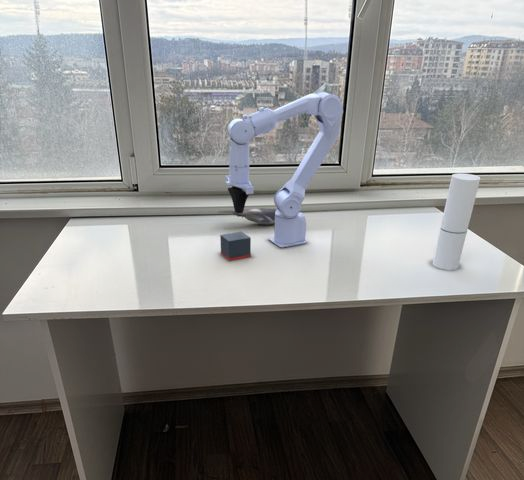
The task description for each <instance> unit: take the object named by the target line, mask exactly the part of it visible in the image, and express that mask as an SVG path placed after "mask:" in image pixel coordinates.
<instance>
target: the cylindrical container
mask: <svg viewBox="0 0 524 480" xmlns="http://www.w3.org/2000/svg"><path fill="white" fill-rule="evenodd" d="M449 182H450V183H449V187H448V192H447V195H446V202H445V204H444V205H445V206H444V210H443V214H442V218H441V223H440V228H439V233H438V238H437V240H436V241H437V242H436V246H435V251H434V254H433V260H432V265H433V266H434V267H435V268H438V269H440V270H445V271H452V270H453V271H455V270H457V269H458V268H459V265H460V262H461V257H462V253H463V249H464V246H465V242H466V237H467V233H468V230H469V225H470V221H471V217H472V214H473V209H474V206H475V202H476V197H477V192H478V191H479V185H480V182H481V177H480V175H479V176H478V175H476V174H471V173H461V172H460V173H453V174H452V175H451V178H450V181H449Z"/></svg>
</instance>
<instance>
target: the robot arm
mask: <svg viewBox="0 0 524 480" xmlns="http://www.w3.org/2000/svg"><path fill="white" fill-rule="evenodd" d="M343 113H344V109H343V105H342V102H341V99H340V97H338V96H337V95H336V94H332V93H329V92H326V91H325V90H319V91H316V92H315V93H308V94H307V95H304V96H302V97H300V98H297V99H295V100H293V101H291V102H289V103H287V104H284V105H283V106H280V107H278V108H276V109H274V110H273V109H271V108H269V107H263V106H260V107H259V108H258V111H255V112H253V113H250V114H248V115H247V114H243V115H242V118H234V119H232V120H231V121H230V122H229V124H228V126H227V128H226V131H227V135H228V137H229V147H228V158H229V159H228V160H229V161H228V162H229V163H228V167H229V168H228V171H229V173H228V175H225V185H227V186H231V187H227V191H228V193H229V195H230V197H231V200H232V205H233V211H235V212H236V213H243V210H245V207H246V203H247V200H248V197H249V196H250V195H254V190H255V189H254V186H252V184H251V181H250V141H251V139H252V138H255V137H258V136H261V135H263V134H266V133H268V132H270V131H274V130H275V129H276V127H277V125H278V123H280V122H283V121H287V120H288V119H292V118H294V117H297V116H300V115H303V114H308V115H311V116H314V117H315V119H316V122H317V126H318V133H317V134H316V136H315V138H314V139H313V141H312V143H311V145H310V147H309V148H308V150H307V151H306V153H305V155H304V157H303V158H302V160H301V162H300V164H299V165H298V167H297V168H296V170H295V172H294V173H293V175H292V177H291V179H289V180H288V181H287V182H285V183H284V185H283V186H282V187H281V188H280V189H278V190H277V192H275V194H274V196H273V203H274V205H275V206H276V209H277V210H276V212H275V223H274V237H269V238H268V240H269V241H270V242H272V243H273V244H275V245H276V246H277V247H279V248H282V249H283V248H288V247H294V246H298V245H305V244H307V241H306V235H307V234H306V233H307V219H306V216H305V215H304V214H303V212H301V209H302V203H303V201H304V200H305V197H306V196H305V194H306V189H307V187H309V184H310V183H311V181H312V180H313V178H314V176H315V174H316V172H317V171H318V170H319V168H320V166H322V163H323V161H324V160H325V159H326V157H327V155H328V153H329V152H330V150H331V149H332V148H333V145H334V144H335V142H336V141H337V139H338V137H339V135H340V129H341V120H342V117H343Z"/></svg>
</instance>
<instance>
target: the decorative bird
mask: <svg viewBox="0 0 524 480" xmlns="http://www.w3.org/2000/svg"><path fill="white" fill-rule="evenodd" d="M276 210H277V208H264V207H262V208H247V209H244V210H243V213H236V212H235V210H219V211H218V212H217V213H219V214H233V215H234V216H237V217H238V218H242V219H243V218H244V219H246V220H248V221H250V222H253V223H256V224H259V225H273V224H274V225H275V212H276Z"/></svg>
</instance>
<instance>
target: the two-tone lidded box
mask: <svg viewBox="0 0 524 480" xmlns="http://www.w3.org/2000/svg"><path fill="white" fill-rule="evenodd" d="M219 237H220V254H221V256H222V257H224V258H225V259H226V260H227V261H228V262H232V261H238V260H243V259H247V258H251V255H252V253H251V251H252V247H251V245H252V244H251V243H252V241H251V240H252V239H251V237H250V236H249V235H248V234H246V233H245V232H244V231H243V230H241V231H240V230H239V231H236V232H230V233H229V232H228V233H223V234H222V233H221V234H220V236H219Z"/></svg>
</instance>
